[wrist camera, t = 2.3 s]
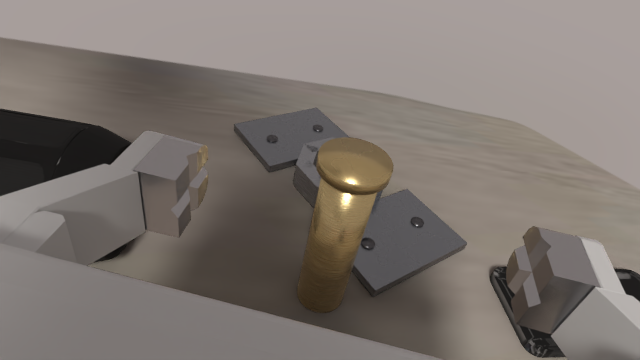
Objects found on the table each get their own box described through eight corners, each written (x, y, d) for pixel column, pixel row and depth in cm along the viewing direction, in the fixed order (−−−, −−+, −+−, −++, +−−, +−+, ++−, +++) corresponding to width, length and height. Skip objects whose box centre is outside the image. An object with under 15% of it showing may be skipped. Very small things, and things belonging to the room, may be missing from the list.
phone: (489, 266, 37) (636, 269, 40) (483, 274, 37) (629, 276, 40) (534, 354, 31) (704, 349, 34) (526, 362, 31) (694, 357, 34)
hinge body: (234, 130, 48) (234, 110, 46) (315, 113, 53) (318, 95, 52) (372, 296, 33) (381, 276, 32) (463, 248, 39) (474, 229, 37)
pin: (280, 282, 33) (303, 146, 25) (326, 262, 35) (361, 131, 27) (311, 328, 30) (349, 192, 22) (359, 303, 33) (408, 172, 25)
